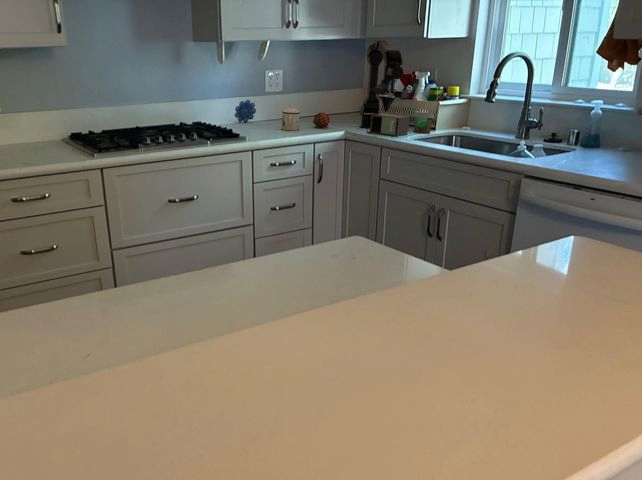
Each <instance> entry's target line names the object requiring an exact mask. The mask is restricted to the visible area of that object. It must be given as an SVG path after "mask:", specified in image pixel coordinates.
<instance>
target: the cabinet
mask: <svg viewBox="0 0 642 480" xmlns="http://www.w3.org/2000/svg"><path fill="white" fill-rule="evenodd" d="M370 114H371V123H370V128H369V131H366V134H373V135H377V136H378V135H379V136H386V137H394V138H395V137H401V136H407V135H408V134H409V126H410V116H409V115H402V114H401V115H400V114H393V113H386V112H380V113H378V114H374V113H370ZM382 117H389V118H397V119H396V128H395V135H391V134H384V133H381V124H382Z"/></svg>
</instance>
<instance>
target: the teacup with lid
mask: <svg viewBox="0 0 642 480" xmlns="http://www.w3.org/2000/svg"><path fill="white" fill-rule="evenodd" d="M281 113H282V117H281V118H282V119H281V130H284V131H290V132H291V131H293V132H294V131H299V130H300V114H301V111H300V110H298V109H297V108H295V107H294V105H289V107H286V108H285V109H283V110H282V111H281Z"/></svg>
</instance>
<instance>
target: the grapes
mask: <svg viewBox="0 0 642 480" xmlns="http://www.w3.org/2000/svg"><path fill="white" fill-rule="evenodd" d="M255 106H256V104H255V102H251V100H250V99H246V100H241V101H240V102H239V103H238V105H237V106H235V108H234V110H235V113H234V117H235V118H237V121H238V123H242V122H243V123H244V124H246V123H248V122H249V120H250V121H251V120H253V119H254V114H256V112H257V109H256V108H255Z"/></svg>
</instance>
